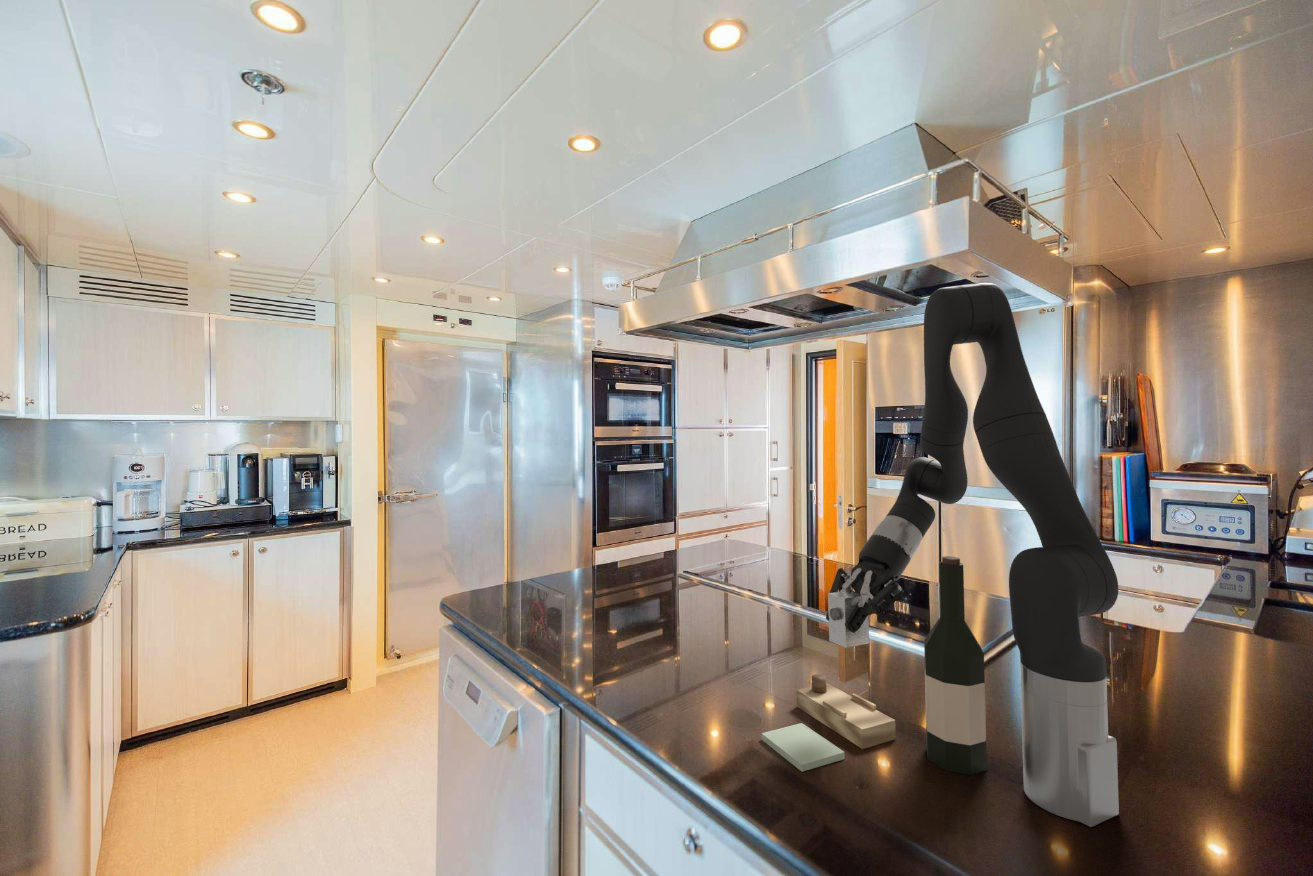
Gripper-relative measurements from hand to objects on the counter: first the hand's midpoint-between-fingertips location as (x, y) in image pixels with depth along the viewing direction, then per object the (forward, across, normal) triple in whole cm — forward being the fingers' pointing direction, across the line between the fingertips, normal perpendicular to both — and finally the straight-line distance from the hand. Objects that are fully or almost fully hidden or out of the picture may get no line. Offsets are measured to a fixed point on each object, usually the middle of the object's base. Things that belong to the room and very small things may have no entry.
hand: (839, 625), depth 93 cm
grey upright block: (+1, 0, +4) cm, 4 cm away
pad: (+19, +2, +5) cm, 20 cm away
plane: (+11, -2, +13) cm, 17 cm away
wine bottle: (+6, +14, +19) cm, 24 cm away
